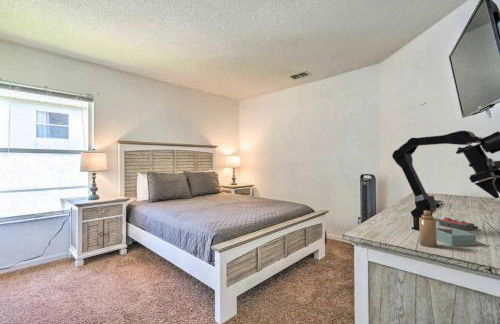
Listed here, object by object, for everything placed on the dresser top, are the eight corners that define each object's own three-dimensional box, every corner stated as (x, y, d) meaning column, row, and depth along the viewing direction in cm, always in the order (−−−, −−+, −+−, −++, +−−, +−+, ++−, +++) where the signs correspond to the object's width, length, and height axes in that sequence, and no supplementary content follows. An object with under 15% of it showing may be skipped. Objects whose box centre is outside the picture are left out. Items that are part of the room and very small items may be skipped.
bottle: (416, 244, 93) (415, 210, 94) (425, 242, 96) (424, 209, 96) (431, 248, 89) (430, 212, 89) (440, 246, 91) (438, 211, 91)
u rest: (431, 237, 101) (431, 228, 101) (455, 237, 101) (455, 228, 101) (452, 245, 91) (451, 235, 91) (478, 245, 91) (478, 235, 91)
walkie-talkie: (481, 230, 111) (433, 221, 129) (480, 220, 111) (433, 212, 129) (470, 232, 107) (423, 223, 126) (469, 222, 108) (422, 214, 126)
